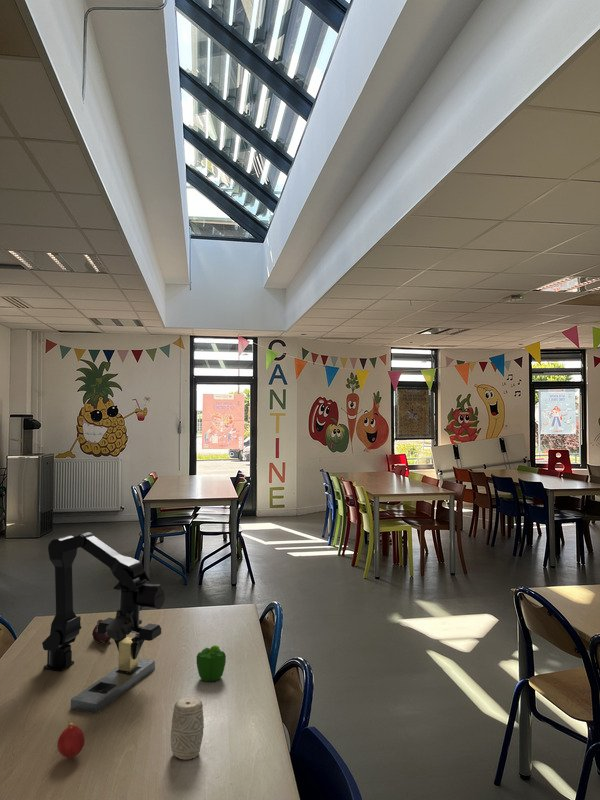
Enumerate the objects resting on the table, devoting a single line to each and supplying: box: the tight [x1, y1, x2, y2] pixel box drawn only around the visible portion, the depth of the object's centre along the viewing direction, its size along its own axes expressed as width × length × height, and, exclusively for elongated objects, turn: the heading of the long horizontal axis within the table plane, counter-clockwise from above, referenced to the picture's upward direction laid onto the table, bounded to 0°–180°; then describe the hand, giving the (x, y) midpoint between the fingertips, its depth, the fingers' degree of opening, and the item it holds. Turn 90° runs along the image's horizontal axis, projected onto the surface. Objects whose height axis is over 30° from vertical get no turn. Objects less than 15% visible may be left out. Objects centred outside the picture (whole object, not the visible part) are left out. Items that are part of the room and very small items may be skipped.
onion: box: [56, 722, 86, 760], centre depth 129 cm, size 6×6×8 cm
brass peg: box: [117, 636, 139, 672], centre depth 169 cm, size 4×4×8 cm
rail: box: [70, 657, 156, 715], centre depth 163 cm, size 8×28×2 cm, turn 162°
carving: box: [170, 696, 205, 761], centre depth 131 cm, size 6×8×12 cm
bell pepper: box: [196, 645, 227, 682], centre depth 169 cm, size 8×8×10 cm
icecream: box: [91, 619, 112, 644], centre depth 195 cm, size 7×7×15 cm
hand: (128, 657), depth 169 cm, fingers closed on brass peg, 4 cm apart
